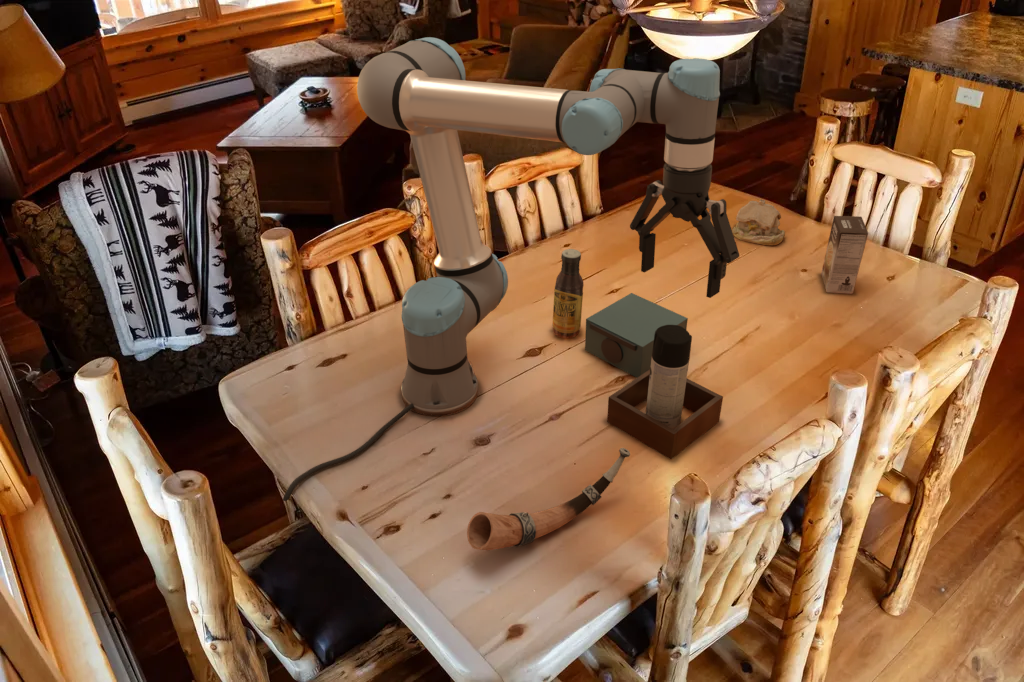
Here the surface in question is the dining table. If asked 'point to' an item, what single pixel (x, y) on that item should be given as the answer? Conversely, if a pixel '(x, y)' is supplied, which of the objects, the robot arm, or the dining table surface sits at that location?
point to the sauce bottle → (568, 296)
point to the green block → (628, 332)
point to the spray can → (668, 374)
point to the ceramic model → (758, 224)
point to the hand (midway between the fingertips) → (679, 281)
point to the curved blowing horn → (535, 517)
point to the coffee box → (844, 254)
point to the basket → (655, 431)
